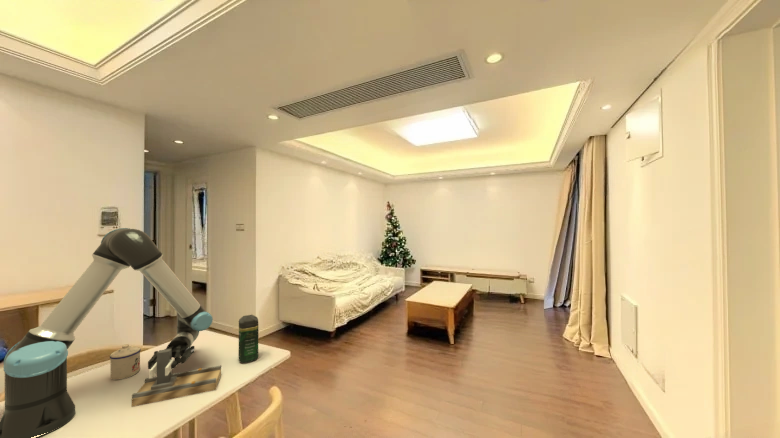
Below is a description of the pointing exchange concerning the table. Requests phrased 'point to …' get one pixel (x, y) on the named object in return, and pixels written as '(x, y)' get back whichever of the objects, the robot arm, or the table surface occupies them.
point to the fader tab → (163, 370)
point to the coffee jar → (248, 338)
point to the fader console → (179, 386)
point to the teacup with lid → (125, 362)
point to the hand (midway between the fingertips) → (158, 372)
